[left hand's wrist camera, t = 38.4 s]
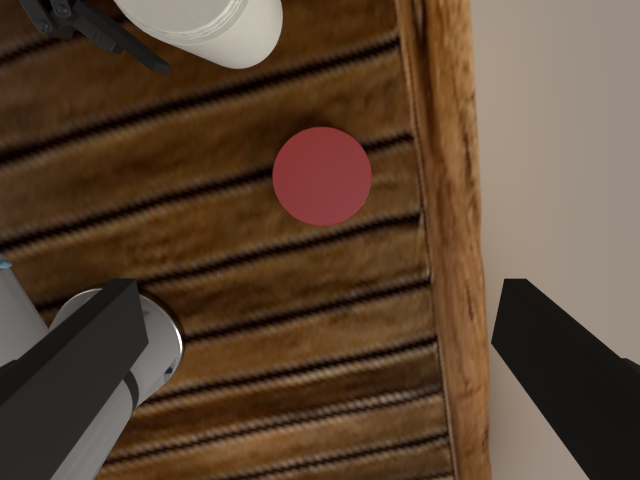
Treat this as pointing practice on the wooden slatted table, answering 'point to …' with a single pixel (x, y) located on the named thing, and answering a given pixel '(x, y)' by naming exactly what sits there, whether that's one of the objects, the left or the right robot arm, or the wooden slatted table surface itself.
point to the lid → (321, 176)
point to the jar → (212, 27)
